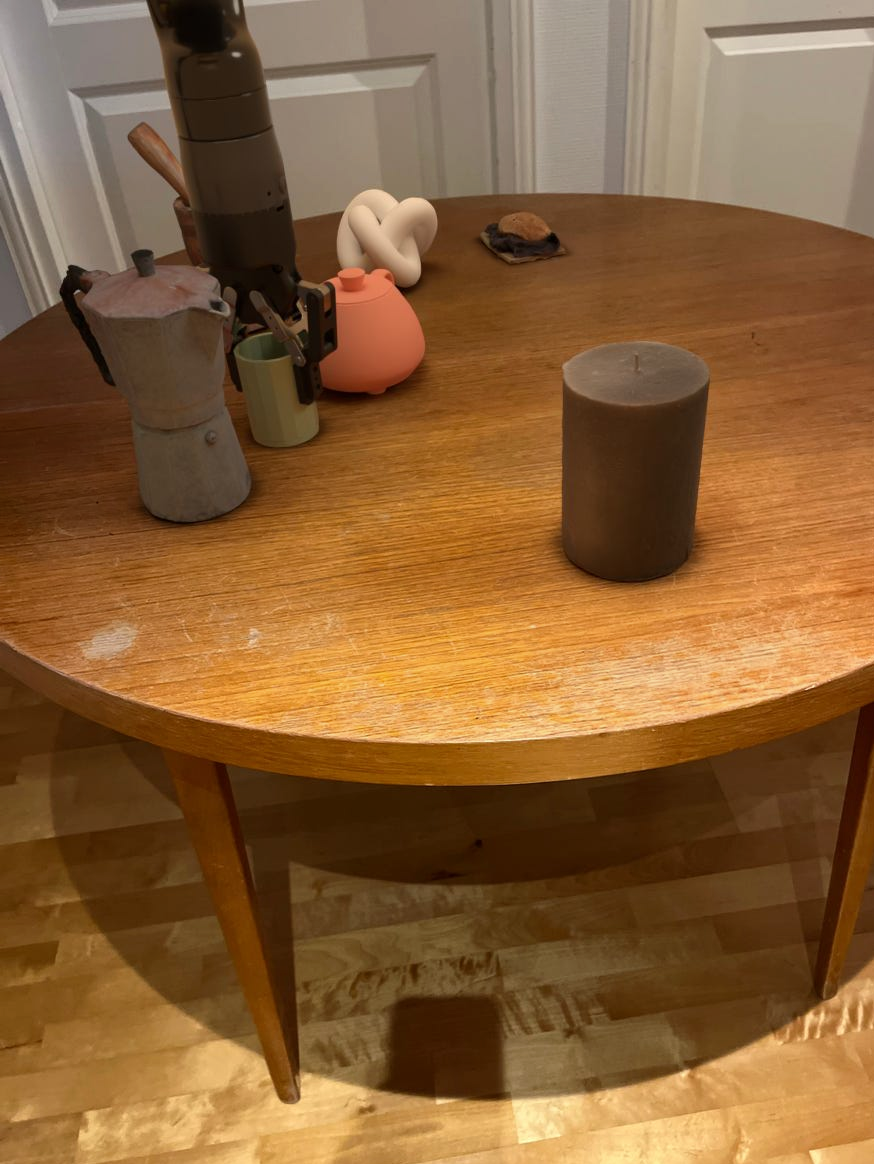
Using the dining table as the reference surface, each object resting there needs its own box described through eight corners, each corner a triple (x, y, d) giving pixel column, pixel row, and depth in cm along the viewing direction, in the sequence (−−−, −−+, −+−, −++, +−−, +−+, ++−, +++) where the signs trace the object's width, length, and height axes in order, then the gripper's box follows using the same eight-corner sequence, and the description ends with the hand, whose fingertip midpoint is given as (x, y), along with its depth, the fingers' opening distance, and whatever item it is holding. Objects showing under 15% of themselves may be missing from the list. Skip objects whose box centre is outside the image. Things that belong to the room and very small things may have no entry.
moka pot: (244, 542, 75) (179, 283, 62) (80, 511, 80) (-13, 264, 67) (303, 478, 82) (255, 233, 69) (149, 453, 86) (77, 218, 73)
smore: (475, 239, 124) (473, 209, 122) (536, 228, 126) (536, 198, 124) (505, 266, 116) (504, 234, 114) (570, 254, 118) (570, 222, 116)
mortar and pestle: (173, 346, 103) (118, 140, 90) (176, 314, 110) (125, 118, 97) (283, 331, 105) (244, 127, 92) (279, 301, 111) (242, 106, 98)
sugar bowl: (278, 395, 94) (258, 289, 87) (346, 336, 103) (332, 236, 97) (394, 412, 90) (381, 303, 83) (453, 349, 99) (446, 247, 93)
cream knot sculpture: (414, 251, 121) (407, 174, 116) (462, 280, 113) (458, 199, 108) (331, 273, 117) (319, 194, 111) (375, 304, 109) (365, 221, 104)
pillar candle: (691, 587, 68) (714, 389, 58) (552, 577, 70) (552, 383, 60) (693, 510, 75) (714, 322, 66) (567, 503, 77) (569, 318, 67)
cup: (239, 440, 87) (219, 355, 82) (277, 410, 91) (261, 327, 86) (295, 452, 85) (278, 366, 80) (332, 421, 89) (318, 337, 84)
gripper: (133, 200, 75) (187, 400, 86) (288, 218, 70) (324, 428, 81) (194, 172, 80) (238, 365, 91) (344, 187, 75) (371, 389, 86)
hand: (278, 394), depth 86 cm, fingers open, 6 cm apart
